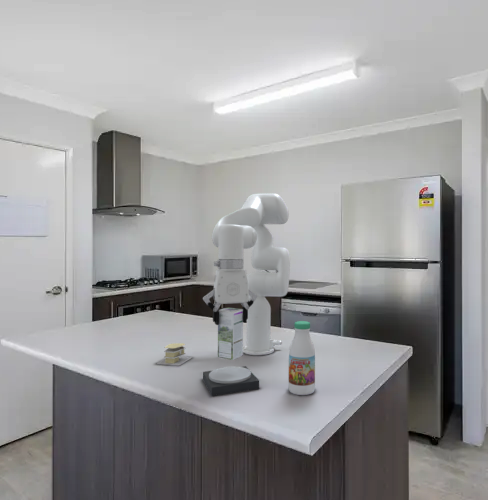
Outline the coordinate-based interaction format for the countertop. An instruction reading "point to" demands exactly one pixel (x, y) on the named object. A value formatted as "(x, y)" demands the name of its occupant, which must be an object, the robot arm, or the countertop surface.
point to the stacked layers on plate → (174, 355)
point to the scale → (230, 380)
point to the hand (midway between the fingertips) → (230, 322)
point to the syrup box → (230, 333)
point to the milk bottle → (302, 361)
